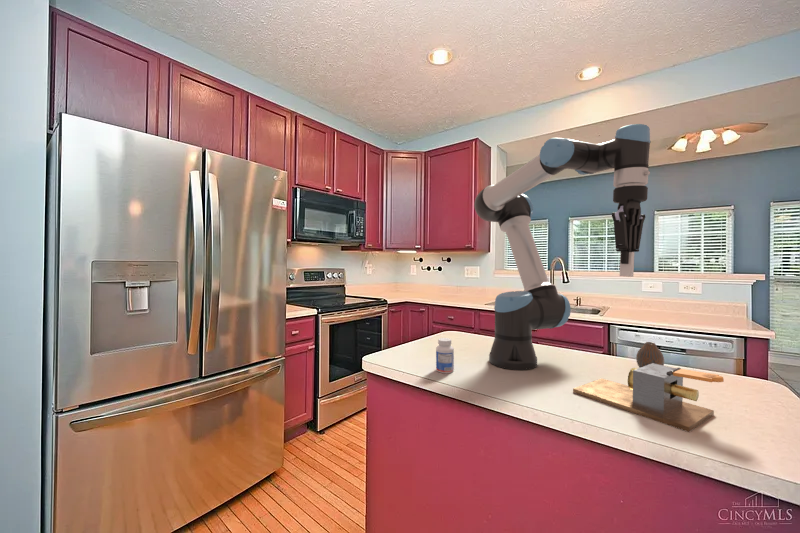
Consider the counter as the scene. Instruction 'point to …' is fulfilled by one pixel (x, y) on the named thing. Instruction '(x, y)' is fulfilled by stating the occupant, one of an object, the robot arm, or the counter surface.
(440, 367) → the pill bottle
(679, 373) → the orange rod
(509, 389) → the counter surface
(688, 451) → the counter surface
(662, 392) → the hitch block
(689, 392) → the lynch pin
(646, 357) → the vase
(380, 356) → the counter surface
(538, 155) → the robot arm
